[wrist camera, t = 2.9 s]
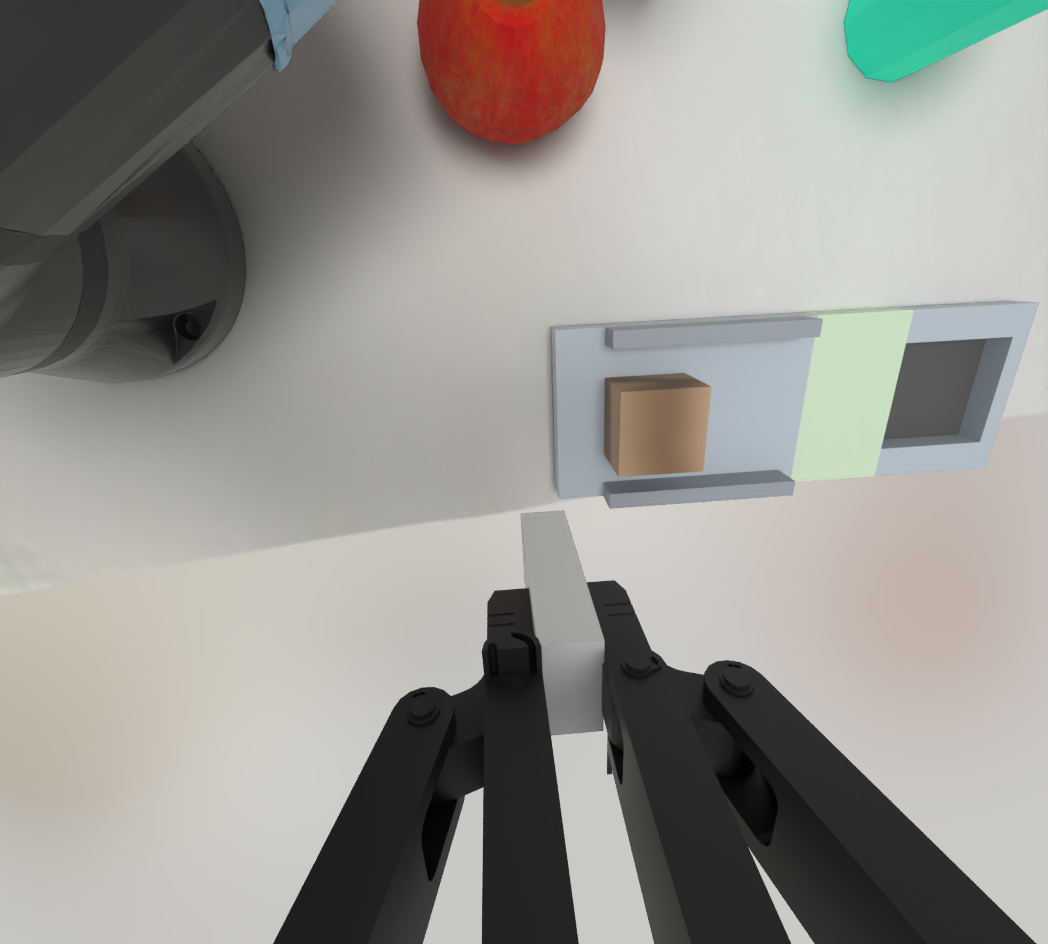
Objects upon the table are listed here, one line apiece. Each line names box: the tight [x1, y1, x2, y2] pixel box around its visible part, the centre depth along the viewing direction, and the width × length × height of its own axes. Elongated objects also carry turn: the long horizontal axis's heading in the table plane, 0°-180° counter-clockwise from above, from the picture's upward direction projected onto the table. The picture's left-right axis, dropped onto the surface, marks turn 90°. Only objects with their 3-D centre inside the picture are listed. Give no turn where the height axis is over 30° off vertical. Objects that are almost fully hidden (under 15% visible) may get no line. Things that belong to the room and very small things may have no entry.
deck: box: [551, 301, 1039, 508], centre depth 32 cm, size 30×11×4 cm, turn 93°
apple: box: [417, 0, 605, 145], centre depth 21 cm, size 8×8×11 cm
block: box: [604, 373, 711, 477], centre depth 30 cm, size 5×5×4 cm
